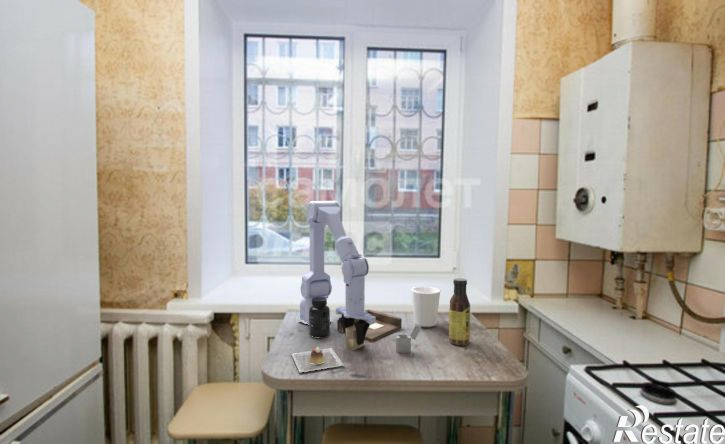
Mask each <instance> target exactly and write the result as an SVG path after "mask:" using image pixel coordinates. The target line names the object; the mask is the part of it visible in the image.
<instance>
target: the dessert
mask: <svg viewBox="0 0 725 444" xmlns="http://www.w3.org/2000/svg"><path fill="white" fill-rule="evenodd" d="M324 351H330V353H331V354H332V355H333V357H334V358H335V359H336V361H337V362H338V364H339V365H333V366H327V367H326V366H325V367H323V368H315V369H310V370H309V369H308V370H303V371H301V369H300V367H299V365H298V363H297V361H296V358H295V356H294V354H295V355H296V354H304V353H305V354H306V353H311V355H309V359H308V363H309V362H310V363H314V364H318V363H322V362H324V361H325V362H326V360H325V356H324V353H323V352H324ZM330 353H329V354H330ZM291 356H292V359H293V360H294V363H295V365H296V367H297V370H298V373H300V374H303V373H302V372H304V373H308V372H309V371H311V372H316V371H315V370H317V371H322V370H321V369H323V370H328V369H327V368H329V369H335V368H339V367H340V366H341V367H344V366H345V364H344V362H343V361H342V360H341V358H340V357H339V356H338V354H337V353H336V351H335V350H334V348H332V347H330V348H319V346H317V347H316V348H313V349H312V350H309V351H300V352H295V353H291ZM325 362H324V363H325ZM310 363H309V364H310ZM334 367H335V368H334ZM309 373H310V372H309Z"/></svg>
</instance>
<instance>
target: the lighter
mask: <svg viewBox="0 0 725 444" xmlns="http://www.w3.org/2000/svg"><path fill="white" fill-rule="evenodd" d="M414 325H415V324H414ZM421 329H422V326H420V325H418V324H416V325H415V326H414V328H413V330H412V331H411V333H410V335H408V333H407V332H402V333H401V332H400V333H399V334H398V335H396V336H395V342H396V343H395V351H396V353H401V354H402V353H403V354H404V353H411V352H412V351H411V350H412V349H411V348H412V347H411V346H412V340H414V341H415V340H416V339H417V337H418V335H419V333H420V331H421Z"/></svg>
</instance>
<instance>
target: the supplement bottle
mask: <svg viewBox="0 0 725 444" xmlns="http://www.w3.org/2000/svg"><path fill="white" fill-rule="evenodd" d="M327 301H328V298H325V297H314V298H312V305H313V306H311V307H310V308H309V326H308V335H309V336H310V335H311V336H313V337H324V338H327V337H329V336H330V334H331V323H330V321H331V313H330V312H331V308H330V307H329V306H328V302H327ZM311 336H310V337H311ZM326 336H327V337H326ZM313 337H312V338H313Z"/></svg>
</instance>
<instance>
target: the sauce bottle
mask: <svg viewBox="0 0 725 444" xmlns="http://www.w3.org/2000/svg"><path fill="white" fill-rule="evenodd" d="M467 285H468V280H467V279H466V278H460V277H459V278H454V279H453V295H452V296H451V297H450V299H449V309H448V312H449V314H448V317H449V319H448V324H449V325H448V337H449V338H448V339H449V340H448V341H449V342H450V343H451V345H455V346H463V347H464V346H466V345H468V344H469V342H470V335H471V334H470V333H471V331H470V330H471V329H470V328H471V304H470V301H469V297H468V295H467Z"/></svg>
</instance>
